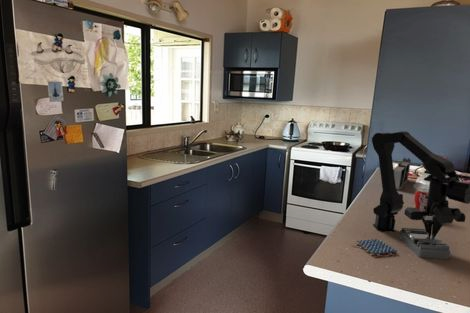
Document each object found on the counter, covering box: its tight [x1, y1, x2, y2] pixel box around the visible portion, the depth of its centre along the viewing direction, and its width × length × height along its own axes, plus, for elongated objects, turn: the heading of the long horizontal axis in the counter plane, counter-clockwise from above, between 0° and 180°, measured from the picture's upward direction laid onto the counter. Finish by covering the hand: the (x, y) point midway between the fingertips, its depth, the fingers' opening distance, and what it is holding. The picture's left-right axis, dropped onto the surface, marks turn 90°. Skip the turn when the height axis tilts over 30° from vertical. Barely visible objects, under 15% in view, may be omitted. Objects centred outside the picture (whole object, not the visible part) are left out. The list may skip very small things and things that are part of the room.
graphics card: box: [393, 157, 412, 191], centre depth 214 cm, size 33×5×14 cm, turn 145°
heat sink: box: [398, 227, 451, 260], centre depth 126 cm, size 10×16×5 cm, turn 178°
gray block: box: [407, 233, 443, 243], centre depth 126 cm, size 10×4×1 cm, turn 88°
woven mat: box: [355, 238, 399, 258], centre depth 123 cm, size 10×11×2 cm
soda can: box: [412, 188, 429, 211], centre depth 159 cm, size 7×7×12 cm
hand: (431, 237), depth 126 cm, fingers closed on gray block
